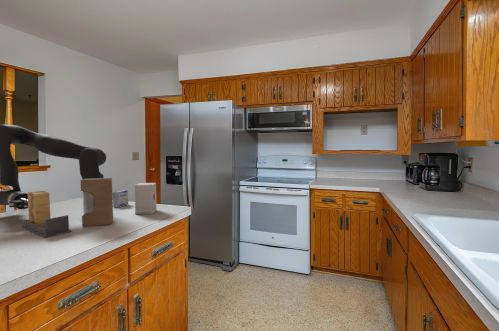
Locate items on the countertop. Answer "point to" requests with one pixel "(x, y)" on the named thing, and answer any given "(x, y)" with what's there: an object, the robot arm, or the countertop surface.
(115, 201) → the medicine box
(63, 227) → the metal track
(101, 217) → the decorative block
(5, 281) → the countertop surface
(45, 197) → the slider block
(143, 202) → the supplement box
